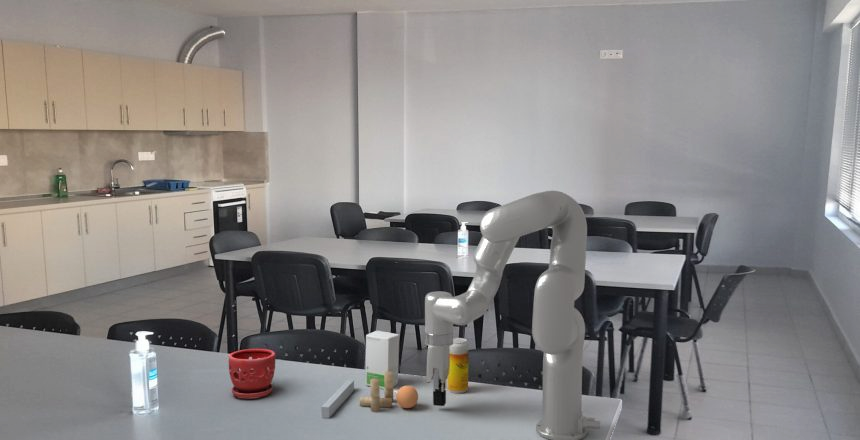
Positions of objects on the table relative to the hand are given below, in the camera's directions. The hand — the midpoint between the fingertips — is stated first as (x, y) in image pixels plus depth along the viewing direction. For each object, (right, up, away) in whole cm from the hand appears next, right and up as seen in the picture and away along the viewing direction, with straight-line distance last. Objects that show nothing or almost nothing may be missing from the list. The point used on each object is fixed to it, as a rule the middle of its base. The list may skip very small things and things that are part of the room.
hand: (439, 404), depth 188 cm
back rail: (-28, -1, +6) cm, 29 cm away
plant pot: (-54, -1, +14) cm, 56 cm away
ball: (-9, +2, +2) cm, 9 cm away
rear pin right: (-14, -1, +7) cm, 15 cm away
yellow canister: (+6, 0, +15) cm, 16 cm away
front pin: (-13, 0, +3) cm, 14 cm away
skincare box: (-17, 0, +21) cm, 27 cm away
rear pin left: (-17, -2, 0) cm, 17 cm away
